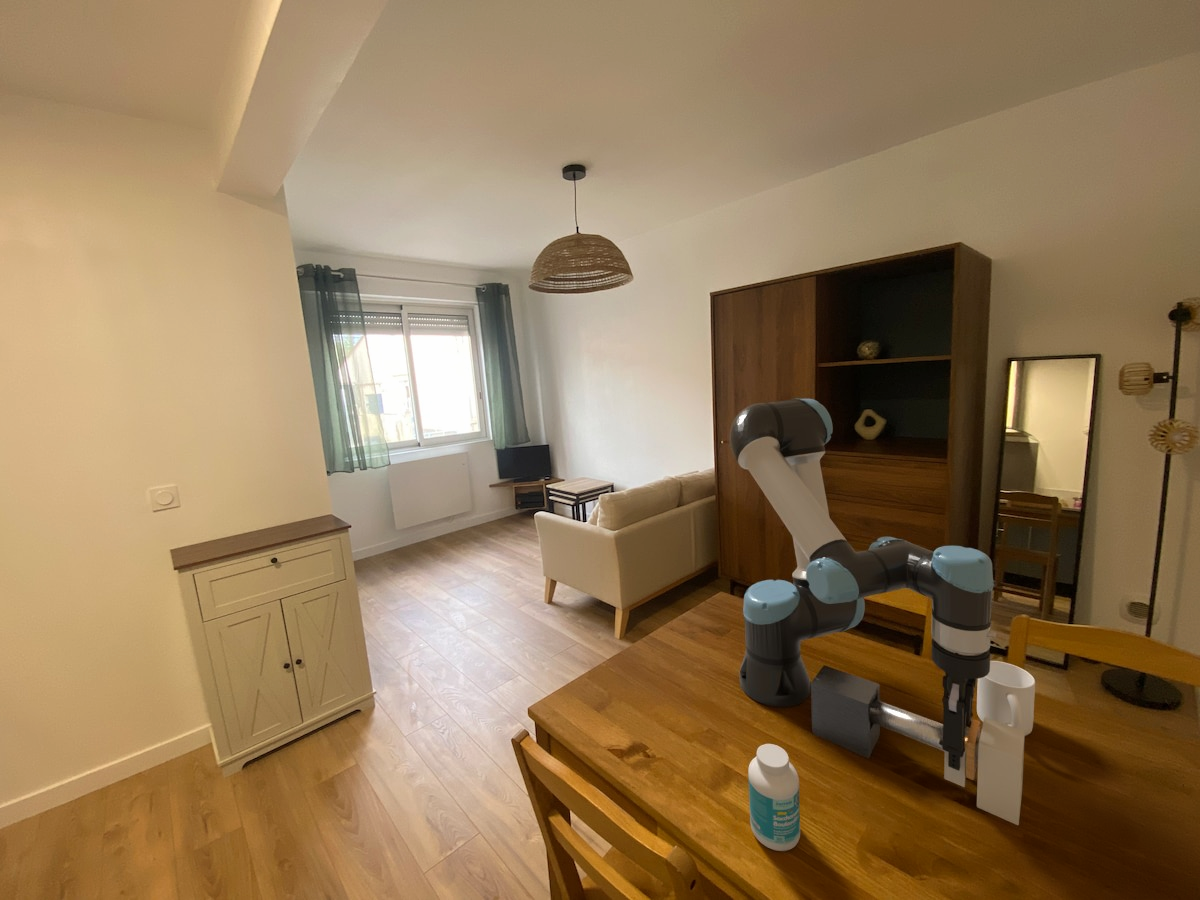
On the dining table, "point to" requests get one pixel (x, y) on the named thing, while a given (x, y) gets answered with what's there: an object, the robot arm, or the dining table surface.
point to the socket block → (1000, 770)
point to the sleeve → (844, 710)
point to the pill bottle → (774, 798)
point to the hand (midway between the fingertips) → (957, 770)
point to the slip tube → (924, 730)
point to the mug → (1007, 696)
